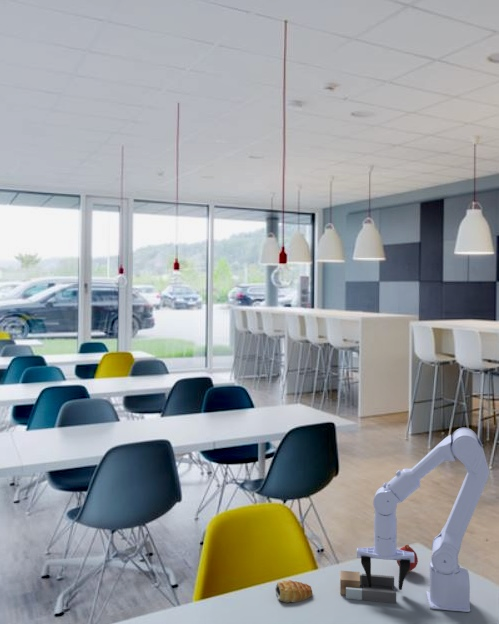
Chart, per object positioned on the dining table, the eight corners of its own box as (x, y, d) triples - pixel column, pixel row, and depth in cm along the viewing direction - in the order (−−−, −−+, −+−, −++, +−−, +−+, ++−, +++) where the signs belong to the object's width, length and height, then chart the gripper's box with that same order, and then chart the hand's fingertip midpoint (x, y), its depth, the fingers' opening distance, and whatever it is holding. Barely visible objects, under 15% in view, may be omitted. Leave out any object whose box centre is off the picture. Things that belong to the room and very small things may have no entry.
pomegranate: (395, 566, 165) (395, 538, 165) (415, 567, 165) (416, 540, 164) (397, 576, 160) (397, 547, 159) (419, 577, 159) (419, 548, 159)
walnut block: (359, 586, 154) (359, 572, 154) (359, 596, 149) (359, 581, 149) (340, 585, 155) (340, 570, 155) (340, 594, 150) (340, 579, 150)
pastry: (307, 588, 154) (307, 574, 154) (316, 601, 147) (316, 586, 147) (273, 592, 152) (273, 577, 152) (280, 605, 145) (280, 590, 145)
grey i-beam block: (394, 585, 155) (394, 576, 155) (396, 603, 146) (396, 593, 146) (346, 581, 157) (346, 572, 157) (345, 598, 148) (345, 588, 148)
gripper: (412, 530, 153) (412, 581, 153) (357, 526, 155) (356, 576, 156) (415, 542, 146) (415, 595, 146) (356, 537, 149) (356, 589, 149)
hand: (385, 586), depth 151 cm, fingers open, 7 cm apart
